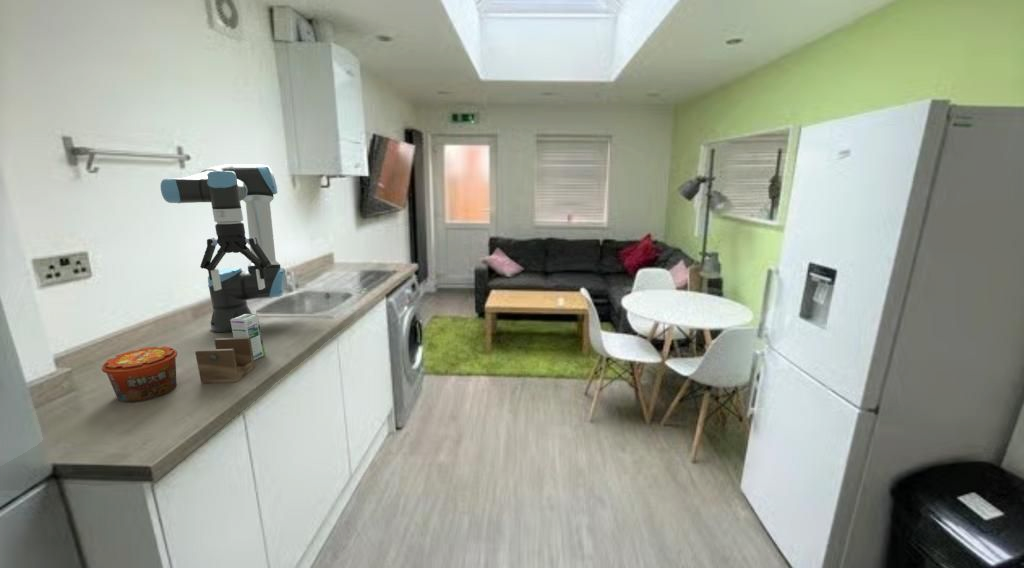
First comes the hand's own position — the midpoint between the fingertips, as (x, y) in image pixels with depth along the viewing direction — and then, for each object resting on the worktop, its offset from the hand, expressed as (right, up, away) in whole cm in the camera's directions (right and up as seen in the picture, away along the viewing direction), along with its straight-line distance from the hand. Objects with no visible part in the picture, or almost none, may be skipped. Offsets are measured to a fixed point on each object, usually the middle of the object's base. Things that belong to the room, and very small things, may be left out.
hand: (240, 289), depth 138 cm
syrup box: (0, -23, +6) cm, 24 cm away
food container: (-15, -29, -17) cm, 37 cm away
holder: (+1, -26, -7) cm, 27 cm away
